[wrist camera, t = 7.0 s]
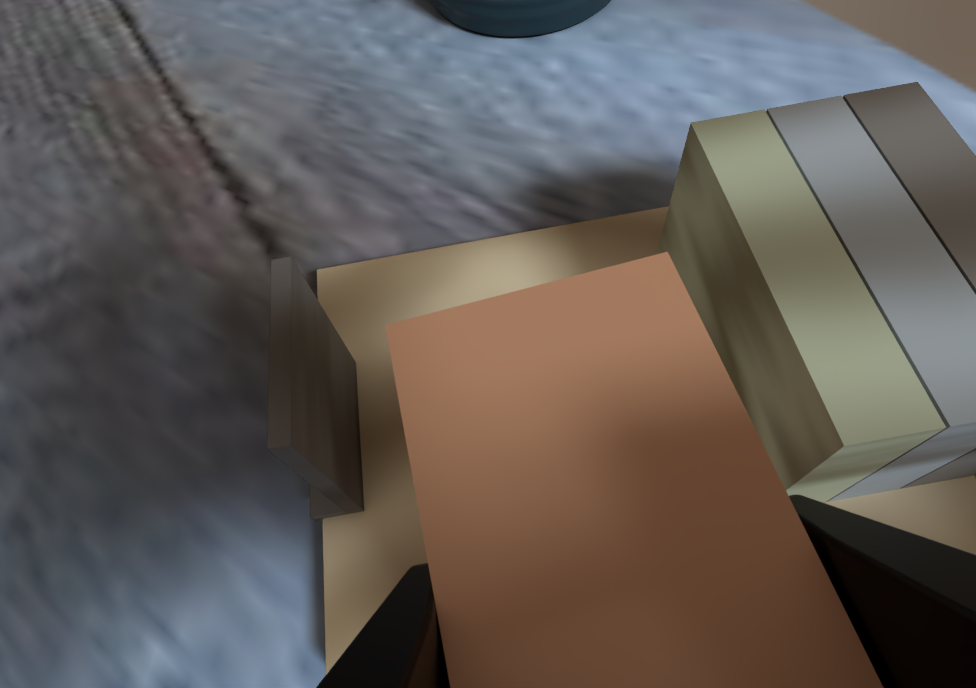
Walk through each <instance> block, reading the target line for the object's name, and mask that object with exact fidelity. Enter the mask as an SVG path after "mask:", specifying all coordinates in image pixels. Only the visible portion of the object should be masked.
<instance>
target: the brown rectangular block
mask: <svg viewBox="0 0 976 688" xmlns="http://www.w3.org/2000/svg"><path fill="white" fill-rule="evenodd" d="M385 328H386V333H387V339H388V344H389V350H390V355H391V361H392V367H393V372H394V378H395V383H396V389H397V394H398V400H399V405H400V411H401V416H402V422H403V427H404V433H405V438H406V444H407V450H408V455H409V461H410V466H411V472H412V477H413V483H414V488H415V494H416V499H417V505H418V510H419V516H420V521H421V527H422V533H423V538H424V544H425V549H426V555H427V560H428V566H429V571H430V577H431V582H432V588H433V593H434V599H435V605H436V610H437V616H438V621H439V627H440V632H441V638H442V643H443V649H444V654H445V660H446V665H447V671H448V676H449V682H450V688H883V686H882V684H881V682H880V680H879V678H878V676H877V674H876V672H875V669H874V667H873V665H872V663H871V661H870V659H869V657H868V655H867V653H866V651H865V649H864V647H863V645H862V643H861V641H860V639H859V637H858V635H857V633H856V631H855V629H854V627H853V625H852V623H851V621H850V619H849V617H848V615H847V613H846V611H845V609H844V607H843V605H842V603H841V601H840V599H839V597H838V595H837V593H836V591H835V589H834V587H833V585H832V583H831V581H830V579H829V577H828V575H827V573H826V571H825V568H824V566H823V564H822V562H821V560H820V558H819V556H818V554H817V552H816V550H815V548H814V546H813V544H812V542H811V540H810V538H809V536H808V534H807V532H806V530H805V528H804V526H803V524H802V522H801V520H800V518H799V516H798V514H797V512H796V510H795V508H794V506H793V504H792V502H791V500H790V498H789V496H788V494H787V492H786V490H785V488H784V486H783V484H782V482H781V480H780V478H779V476H778V474H777V472H776V470H775V467H774V465H773V463H772V461H771V459H770V457H769V455H768V453H767V451H766V449H765V447H764V445H763V443H762V441H761V439H760V437H759V435H758V433H757V431H756V429H755V427H754V425H753V423H752V421H751V419H750V417H749V415H748V413H747V411H746V409H745V407H744V405H743V403H742V401H741V399H740V397H739V395H738V393H737V391H736V389H735V387H734V385H733V383H732V381H731V379H730V377H729V375H728V373H727V371H726V369H725V366H724V364H723V362H722V360H721V358H720V356H719V354H718V352H717V350H716V348H715V346H714V344H713V342H712V340H711V338H710V336H709V334H708V332H707V330H706V328H705V326H704V324H703V322H702V320H701V318H700V316H699V314H698V312H697V310H696V308H695V306H694V304H693V302H692V300H691V298H690V296H689V294H688V292H687V290H686V288H685V286H684V284H683V282H682V280H681V278H680V276H679V274H678V272H677V270H676V268H675V265H674V263H673V261H672V259H671V257H670V255H669V253H668V252H664V253H660V254H656V255H653V256H649V257H645V258H641V259H637V260H633V261H630V262H626V263H622V264H618V265H614V266H610V267H606V268H603V269H599V270H595V271H591V272H587V273H583V274H579V275H576V276H572V277H568V278H564V279H560V280H556V281H552V282H549V283H545V284H541V285H537V286H533V287H529V288H526V289H522V290H518V291H514V292H510V293H506V294H502V295H499V296H495V297H491V298H487V299H483V300H479V301H475V302H472V303H468V304H464V305H460V306H456V307H452V308H449V309H445V310H441V311H437V312H433V313H429V314H425V315H422V316H418V317H414V318H410V319H406V320H402V321H398V322H395V323H391V324H387V325H385Z"/></svg>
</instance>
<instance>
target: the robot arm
mask: <svg viewBox="0 0 976 688" xmlns="http://www.w3.org/2000/svg"><path fill="white" fill-rule="evenodd" d="M789 498H790V500H791V502H792V504H793V506H794V508H795V510H796V512H797V514H798V516H799V518H800V520H801V522H802V524H803V526H804V528H805V530H806V532H807V534H808V536H809V538H810V540H811V542H812V544H813V546H814V548H815V550H816V552H817V554H818V556H819V558H820V560H821V562H822V564H823V566H824V568H825V571H826V573H827V575H828V577H829V579H830V581H831V583H832V585H833V587H834V589H835V591H836V593H837V595H838V597H839V599H840V601H841V603H842V605H843V607H844V609H845V611H846V613H847V615H848V617H849V619H850V621H851V623H852V625H853V627H854V629H855V631H856V633H857V635H858V637H859V639H860V641H861V643H862V645H863V647H864V649H865V651H866V653H867V655H868V657H869V659H870V661H871V663H872V665H873V667H874V669H875V672H876V674H877V676H878V678H879V680H880V682H881V684H882V686H883V688H976V555H975V554H972V553H969V552H966V551H963V550H960V549H957V548H955V547H952V546H949V545H946V544H943V543H940V542H937V541H934V540H931V539H928V538H925V537H922V536H919V535H916V534H914V533H911V532H908V531H905V530H902V529H899V528H896V527H893V526H890V525H887V524H884V523H881V522H878V521H875V520H873V519H870V518H867V517H864V516H861V515H858V514H855V513H852V512H849V511H846V510H843V509H840V508H837V507H835V506H832V505H829V504H826V503H823V502H820V501H817V500H814V499H811V498H808V497H805V496H802V495H789ZM316 688H450V682H449V676H448V671H447V665H446V660H445V654H444V649H443V643H442V638H441V632H440V627H439V621H438V616H437V610H436V605H435V599H434V593H433V588H432V582H431V577H430V571H429V566H428V563H424V564H418V565H413V566H411V567H410V568H409V569H408V571H407V572H406V573H405V574H404V576H403V577H402V578H401V579H400V581H399V582H398V583H397V585H396V586H395V587H394V588H393V590H392V591H391V592H390V594H389V595H388V596H387V597H386V599H385V600H384V601H383V603H382V604H381V605H380V606H379V608H378V609H377V610H376V612H375V613H374V614H373V615H372V617H371V618H370V619H369V621H368V622H367V623H366V624H365V626H364V627H363V628H362V630H361V631H360V632H359V633H358V635H357V636H356V637H355V638H354V640H353V641H352V642H351V644H350V645H349V646H348V647H347V649H346V650H345V651H344V653H343V654H342V655H341V656H340V658H339V659H338V660H337V662H336V663H335V664H334V665H333V667H332V668H331V669H330V671H329V672H328V673H327V674H326V676H325V677H324V678H323V680H322V681H321V682H320V683H319V685H318V686H317V687H316Z"/></svg>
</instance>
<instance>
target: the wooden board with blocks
mask: <svg viewBox="0 0 976 688" xmlns="http://www.w3.org/2000/svg"><path fill="white" fill-rule="evenodd" d="M664 252H668V253H669V255H670V257H671V259H672V261H673V263H674V265H675V268H676V270H677V272H678V274H679V276H680V278H681V280H682V282H683V284H684V286H685V288H686V290H687V292H688V294H689V296H690V298H691V300H692V302H693V304H694V306H695V308H696V310H697V312H698V314H699V316H700V318H701V320H702V322H703V324H704V326H705V328H706V330H707V332H708V334H709V336H710V338H711V340H712V342H713V344H714V346H715V348H716V350H717V352H718V354H719V356H720V358H721V360H722V362H723V364H724V366H725V369H726V371H727V373H728V375H729V377H730V379H731V381H732V383H733V385H734V387H735V389H736V391H737V393H738V395H739V397H740V399H741V401H742V403H743V405H744V407H745V409H746V411H747V413H748V415H749V417H750V419H751V421H752V423H753V425H754V427H755V429H756V431H757V433H758V435H759V437H760V439H761V441H762V443H763V445H764V447H765V449H766V451H767V453H768V455H769V457H770V459H771V461H772V463H773V465H774V467H775V470H776V472H777V474H778V476H779V478H780V480H781V482H782V484H783V486H784V488H785V490H786V492H787V494H788V496H789V495H802V496H805V497H808V498H811V499H814V500H817V501H820V502H823V503H826V504H829V505H832V506H835V507H837V508H840V509H843V510H846V511H849V512H852V513H855V514H858V515H861V516H864V517H867V518H870V519H873V520H875V521H878V522H881V523H884V524H887V525H890V526H893V527H896V528H899V529H902V530H905V531H908V532H911V533H914V534H916V535H919V536H922V537H925V538H928V539H931V540H934V541H937V542H940V543H943V544H946V545H949V546H952V547H955V548H957V549H960V550H963V551H966V552H969V553H972V554H975V555H976V478H975V476H974V474H976V156H975V154H974V153H973V152H972V151H971V149H970V148H969V147H968V146H967V144H966V143H965V142H964V140H963V139H962V138H961V137H960V135H959V134H958V133H957V132H956V130H955V129H954V128H953V126H952V125H951V124H950V123H949V121H948V120H947V119H946V118H945V116H944V115H943V114H942V112H941V111H940V110H939V109H938V107H937V106H936V105H935V104H934V102H933V101H932V100H931V98H930V97H929V96H928V95H927V93H926V92H925V91H924V89H923V88H922V87H921V86H920V84H919V83H918V82H914V83H909V84H903V85H897V86H892V87H886V88H881V89H875V90H870V91H864V92H859V93H853V94H848V95H844V96H843V98H842V96H837V97H831V98H826V99H820V100H814V101H809V102H803V103H798V104H792V105H787V106H781V107H776V108H770V109H767V111H765V110H759V111H754V112H748V113H743V114H737V115H731V116H726V117H720V118H715V119H709V120H704V121H698V122H693V123H691V124H690V128H689V132H688V136H687V139H686V143H685V147H684V151H683V155H682V158H681V162H680V166H679V170H678V174H677V177H676V181H675V185H674V189H673V193H672V196H671V200H670V204H669V206H666V207H661V208H655V209H650V210H644V211H638V212H633V213H627V214H622V215H616V216H611V217H605V218H600V219H594V220H589V221H583V222H578V223H572V224H567V225H561V226H556V227H550V228H545V229H539V230H534V231H528V232H522V233H517V234H511V235H506V236H500V237H495V238H489V239H484V240H478V241H473V242H467V243H462V244H456V245H451V246H445V247H440V248H434V249H429V250H423V251H418V252H412V253H407V254H401V255H395V256H390V257H384V258H379V259H373V260H368V261H362V262H357V263H351V264H346V265H340V266H335V267H329V268H324V269H318V270H317V296H318V300H317V298H316V296H315V295H314V293H313V291H312V290H311V288H310V287H309V285H308V283H307V282H306V280H305V278H304V277H303V275H302V273H301V272H300V270H299V269H298V267H297V265H296V264H295V262H294V260H293V259H292V257H286V258H281V259H275V260H271V301H270V343H269V385H268V427H267V450H268V451H270V452H271V453H272V454H273V455H275V456H276V457H277V458H278V459H280V460H281V461H282V462H283V463H285V464H286V465H287V466H288V467H290V468H291V469H292V470H293V471H295V472H296V473H297V474H298V475H300V476H301V477H302V478H303V479H305V480H306V481H307V482H308V483H310V518H311V519H313V520H318V519H323V561H324V605H325V649H326V674H327V673H328V672H329V671H330V669H331V668H332V667H333V665H334V664H335V663H336V662H337V660H338V659H339V658H340V656H341V655H342V654H343V653H344V651H345V650H346V649H347V647H348V646H349V645H350V644H351V642H352V641H353V640H354V638H355V637H356V636H357V635H358V633H359V632H360V631H361V630H362V628H363V627H364V626H365V624H366V623H367V622H368V621H369V619H370V618H371V617H372V615H373V614H374V613H375V612H376V610H377V609H378V608H379V606H380V605H381V604H382V603H383V601H384V600H385V599H386V597H387V596H388V595H389V594H390V592H391V591H392V590H393V588H394V587H395V586H396V585H397V583H398V582H399V581H400V579H401V578H402V577H403V576H404V574H405V573H406V572H407V571H408V569H409V568H410V567H411V566H413V565H418V564H424V563H428V560H427V555H426V549H425V544H424V538H423V533H422V527H421V521H420V516H419V510H418V505H417V499H416V494H415V488H414V483H413V477H412V472H411V466H410V461H409V455H408V450H407V444H406V438H405V433H404V427H403V422H402V416H401V411H400V405H399V400H398V394H397V389H396V383H395V378H394V372H393V367H392V361H391V355H390V350H389V344H388V339H387V333H386V328H385V325H387V324H391V323H395V322H398V321H402V320H406V319H410V318H414V317H418V316H422V315H425V314H429V313H433V312H437V311H441V310H445V309H449V308H452V307H456V306H460V305H464V304H468V303H472V302H475V301H479V300H483V299H487V298H491V297H495V296H499V295H502V294H506V293H510V292H514V291H518V290H522V289H526V288H529V287H533V286H537V285H541V284H545V283H549V282H552V281H556V280H560V279H564V278H568V277H572V276H576V275H579V274H583V273H587V272H591V271H595V270H599V269H603V268H606V267H610V266H614V265H618V264H622V263H626V262H630V261H633V260H637V259H641V258H645V257H649V256H653V255H656V254H660V253H664Z"/></svg>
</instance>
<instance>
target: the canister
mask: <svg viewBox="0 0 976 688" xmlns="http://www.w3.org/2000/svg"><path fill="white" fill-rule="evenodd" d="M610 1H611V0H431V2H432V4H433V5H434V7H435V8H436V9H437V10H438V11H439V12H440V13H441V14H442V15H443V16H444V17H446V18H447V19H448V20H450V21H452V22H453V23H455V24H457V25H459V26H461V27H464V28H466V29H469V30H472V31H475V32H479V33H484V34H489V35H496V36H510V37H517V36H533V35H540V34H545V33H550V32H554V31H558V30H562V29H565V28H568V27H570V26H573V25H575V24H578V23H580V22H582V21H584V20H586V19H588V18H589V17H591V16H593V15H594V14H596V13H597V12H599V11H600V10H601V9H603V8H604V7H605V6H606V5H607V4H608V3H609V2H610Z"/></svg>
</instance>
